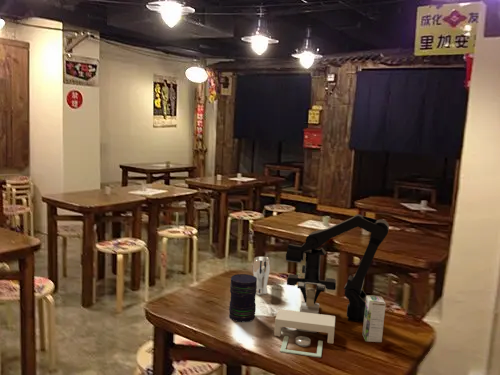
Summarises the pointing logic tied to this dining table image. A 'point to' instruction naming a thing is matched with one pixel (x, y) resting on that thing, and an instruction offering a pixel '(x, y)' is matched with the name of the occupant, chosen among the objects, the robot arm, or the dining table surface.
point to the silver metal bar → (309, 305)
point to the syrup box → (373, 319)
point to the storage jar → (242, 298)
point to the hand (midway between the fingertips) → (310, 302)
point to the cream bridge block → (305, 322)
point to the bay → (283, 349)
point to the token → (303, 341)
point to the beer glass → (261, 273)
